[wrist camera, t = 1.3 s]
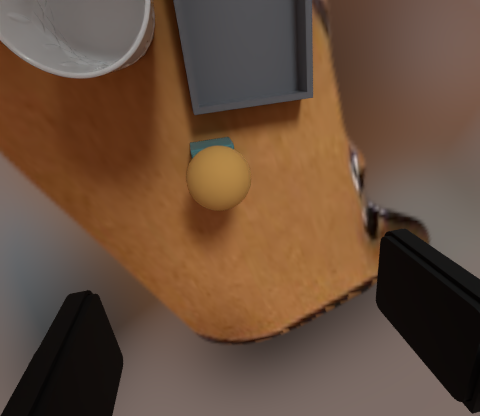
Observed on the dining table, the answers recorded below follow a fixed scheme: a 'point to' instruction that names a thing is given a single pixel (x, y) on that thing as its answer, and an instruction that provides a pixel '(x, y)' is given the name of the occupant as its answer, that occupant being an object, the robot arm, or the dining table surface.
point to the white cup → (78, 34)
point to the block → (210, 144)
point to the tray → (245, 52)
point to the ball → (218, 178)
